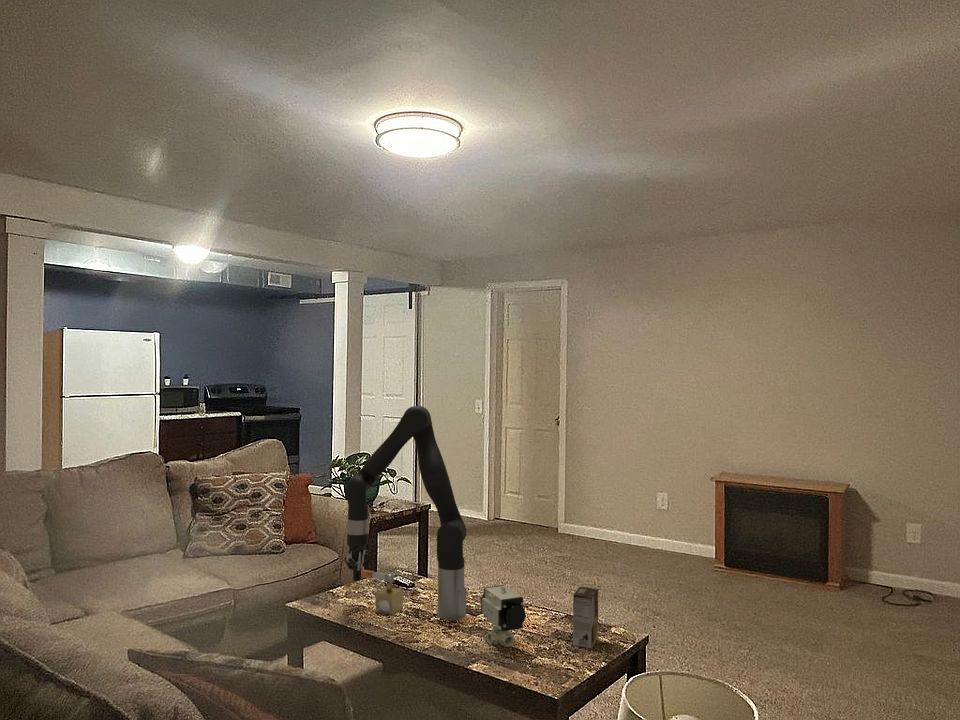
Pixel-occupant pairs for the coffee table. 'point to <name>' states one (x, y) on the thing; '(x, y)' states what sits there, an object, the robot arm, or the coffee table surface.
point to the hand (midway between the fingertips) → (357, 580)
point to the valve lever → (377, 575)
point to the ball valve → (502, 613)
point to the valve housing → (389, 600)
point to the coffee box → (585, 617)
